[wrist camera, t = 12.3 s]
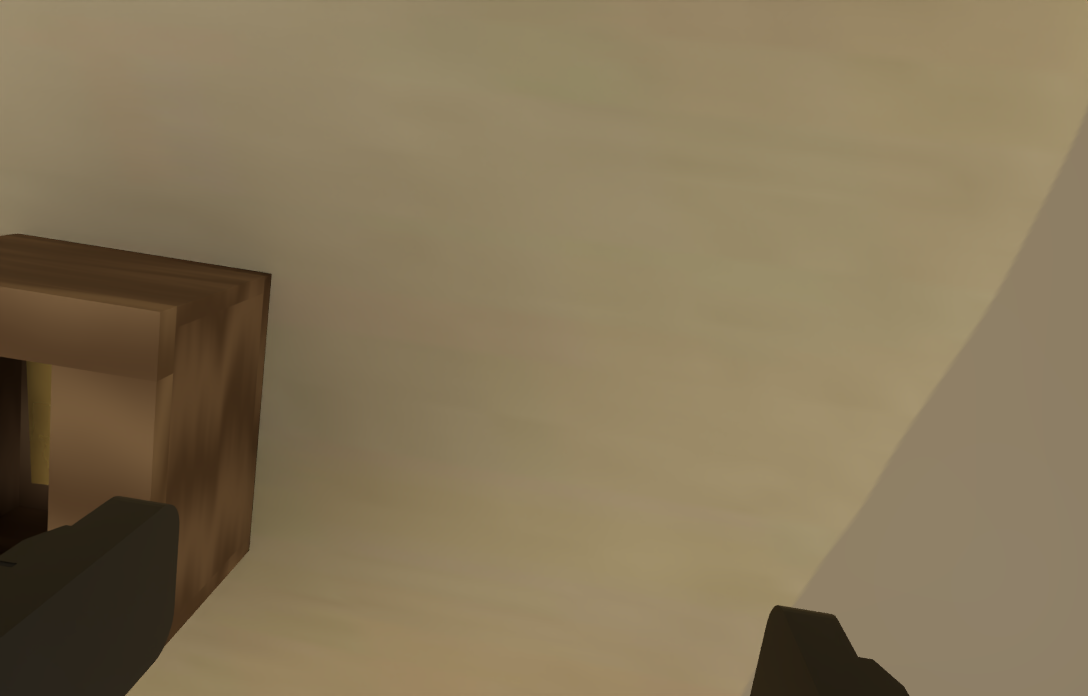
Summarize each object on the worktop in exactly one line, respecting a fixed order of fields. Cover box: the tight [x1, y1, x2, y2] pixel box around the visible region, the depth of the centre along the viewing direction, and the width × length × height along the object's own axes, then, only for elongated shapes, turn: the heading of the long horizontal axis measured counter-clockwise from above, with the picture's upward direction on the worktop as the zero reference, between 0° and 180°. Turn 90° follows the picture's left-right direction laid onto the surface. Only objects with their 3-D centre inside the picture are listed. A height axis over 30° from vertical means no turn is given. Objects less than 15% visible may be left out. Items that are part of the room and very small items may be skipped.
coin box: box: [0, 234, 271, 646], centre depth 36 cm, size 14×12×10 cm
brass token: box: [26, 361, 52, 485], centre depth 37 cm, size 6×2×6 cm, turn 175°
